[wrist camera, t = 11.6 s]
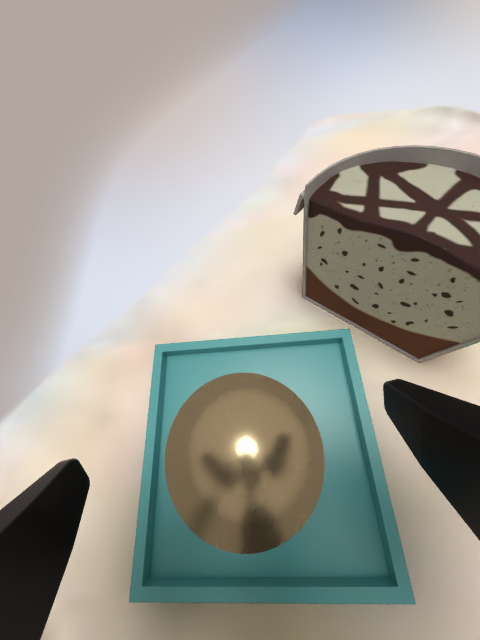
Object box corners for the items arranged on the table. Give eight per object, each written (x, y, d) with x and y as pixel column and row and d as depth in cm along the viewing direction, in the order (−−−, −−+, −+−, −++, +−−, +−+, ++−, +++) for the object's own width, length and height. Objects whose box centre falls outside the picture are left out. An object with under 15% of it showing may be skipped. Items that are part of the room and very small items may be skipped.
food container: (475, 308, 19) (652, 192, 10) (441, 375, 18) (617, 307, 9) (325, 239, 23) (357, 114, 14) (286, 288, 22) (296, 181, 13)
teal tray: (401, 588, 14) (415, 604, 12) (142, 587, 15) (129, 602, 13) (344, 336, 19) (349, 328, 18) (162, 350, 21) (155, 344, 19)
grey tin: (266, 515, 15) (259, 605, 7) (200, 453, 17) (132, 466, 9) (314, 437, 16) (356, 436, 8) (248, 387, 18) (229, 345, 10)
